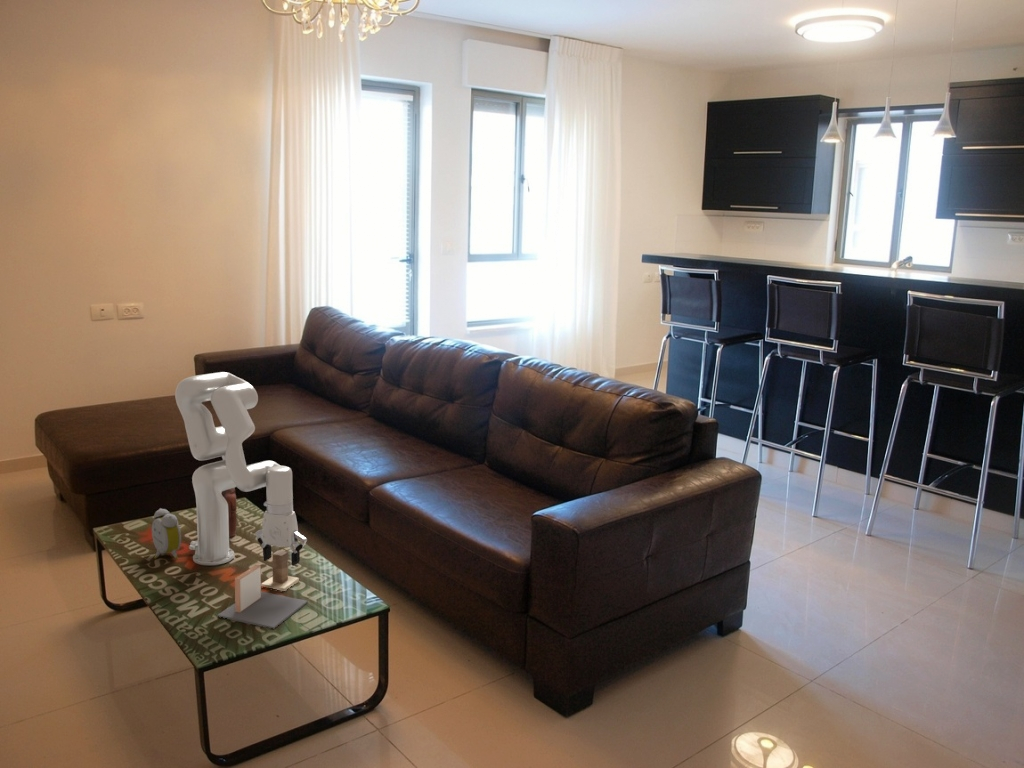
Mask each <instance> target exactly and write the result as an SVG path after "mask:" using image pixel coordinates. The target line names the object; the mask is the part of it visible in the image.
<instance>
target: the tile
mask: <svg viewBox="0 0 1024 768" xmlns="http://www.w3.org/2000/svg"><path fill="white" fill-rule="evenodd" d="M261 567H262V566H261V564H260V565H259V564H255V565H253V566H251V568H249V569H247V570H246V571H244V572H242V573H241V574H239V575H237V576H236V577H235V578H234V603H235V612H242V611H243V610H244V609H246V608H247V607H249V606H250V605H251V604H253V603H254V602H256V601H257V600H259V599H260V598H261V591H262V587H261V584H262V574H261V573H262V568H261Z"/></svg>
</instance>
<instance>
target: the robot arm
mask: <svg viewBox="0 0 1024 768" xmlns="http://www.w3.org/2000/svg"><path fill="white" fill-rule="evenodd" d="M174 392H175V393H174V396H175V402H176V405H177V408H178V409H179V412H180V414H181V417H182V419H183V422H184V427H185V432H186V437H187V441H188V445H189V449H190V453H191V455H192V457H193V458H194V459H195V460H198V461H207V460H212V459H215V458H219V457H221V458H222V460H219V461H215V462H210V463H207V464H203V465H201V466H199V467H198V468H196V469H195V471H194V472H193V474H192V477H191V479H192V481H191V483H192V487H193V491H194V495H195V503H196V530H197V531H196V532H197V535H196V536H197V541H195V540H191V542H190V543H189V544H190V545H189V546H188V549H189V550H192V551H195V552H194V554H193V556H192V560H193V562H194V563H195V564H198V565H200V566H219V565H223V564H225V563H229V562H231V561H232V560H233V559H234V558H235V551H234V550H232V549H231V548H230V537H229V516H228V503H227V501H226V500H225V498H224V497H223V496H222V494H221V493H222V491H225V490H228V489H231V488H234V487H235V488H237V489H239V491H241V492H246V493H247V492H251V491H255V490H258V489H262V488H266V492H265V493H266V501H264V502H263V506H264V507H266V510H265V511H264V514H263V517H262V525H261V529H259V530H257V531H255V532H254V535H255V537H256V539H257V542H258V543H259V545H260V548H261V549H262V557H263V561H264V562H267V561H268V560H270V559H271V558H272V546H274V547H281V548H290V550H291V551H292V552H291V554H290V555H291V560H290V561H291V565H292V566H296V565H298V563H300V560H301V557H300V556H301V555H300V552H301V550H302V549H303V548H304V547H305V545H306V543H307V541H308V538H307V537H305V536H304V535H302V534H301V533H300V532H299V528H298V521H297V515H296V512H295V511H294V500H293V499H294V496H293V495H294V493H293V471H292V468H291V467H289V466H286V465H280V464H279V463H277V462H276V461H273V460H263V461H260V462H255V463H251V464H247V462H246V459H245V454H244V450H243V449H244V448H243V442H244V441H245V440H247V439H248V438H249V437H251V435H252V434H253V433H255V430H256V426H255V423H254V421H253V420H252V418H251V416H250V413H249V411H248V410H251V409H253V408H255V407H256V406H257V404H258V401H259V396H258V392H257V390H256V388H254V386H253V385H252V384H250V382H248V381H246V380H244V379H243V378H240V377H238V376H236V375H234V374H232V373H230V372H225V371H219V372H218V371H217V372H213V373H212V372H211V373H205V374H198V375H192V376H188V377H186V378H184V379H182V380H180V381H179V382H178V384H177V386H176V388H175V391H174ZM209 401H210V402H211V405H212V407H213V410H214V411H215V414H216V416H217V419H218V420H219V422H220V424H221V425H220V426H215V423H214V419H213V414H212V413H211V411H210V410H209V408H207V406H206V405H205V404H203V403H205V402H209ZM298 541H299V543H298Z"/></svg>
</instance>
